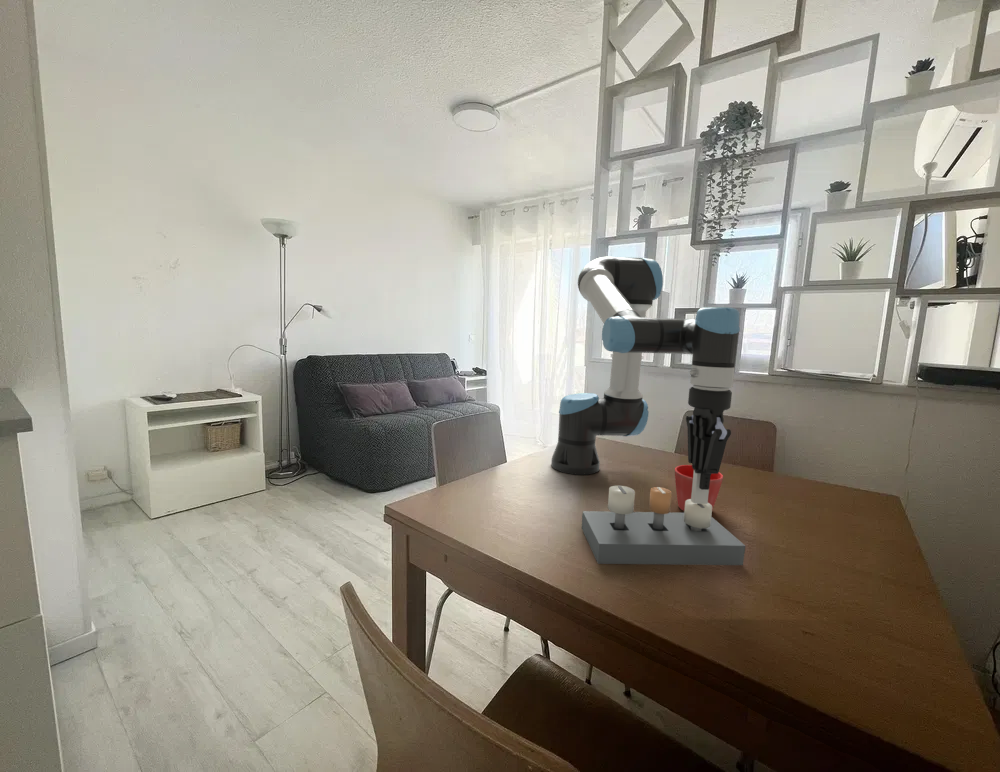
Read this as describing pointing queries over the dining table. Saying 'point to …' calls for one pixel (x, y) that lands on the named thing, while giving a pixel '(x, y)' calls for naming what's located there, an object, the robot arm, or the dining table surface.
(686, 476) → the flower pot
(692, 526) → the knob
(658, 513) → the pot knob
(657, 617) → the dining table surface
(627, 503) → the knob
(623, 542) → the control box
